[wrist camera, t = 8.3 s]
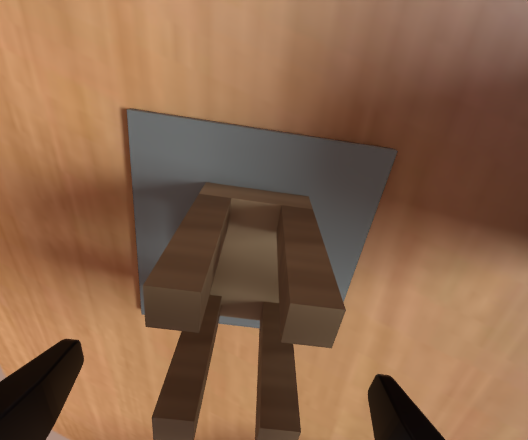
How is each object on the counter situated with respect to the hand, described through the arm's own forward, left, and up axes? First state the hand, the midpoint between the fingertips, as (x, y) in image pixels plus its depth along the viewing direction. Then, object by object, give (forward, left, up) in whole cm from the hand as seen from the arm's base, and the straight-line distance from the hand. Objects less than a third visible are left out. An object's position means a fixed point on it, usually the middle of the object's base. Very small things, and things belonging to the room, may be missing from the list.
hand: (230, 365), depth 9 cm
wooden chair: (0, 0, -7) cm, 7 cm away
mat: (0, 0, -8) cm, 8 cm away
